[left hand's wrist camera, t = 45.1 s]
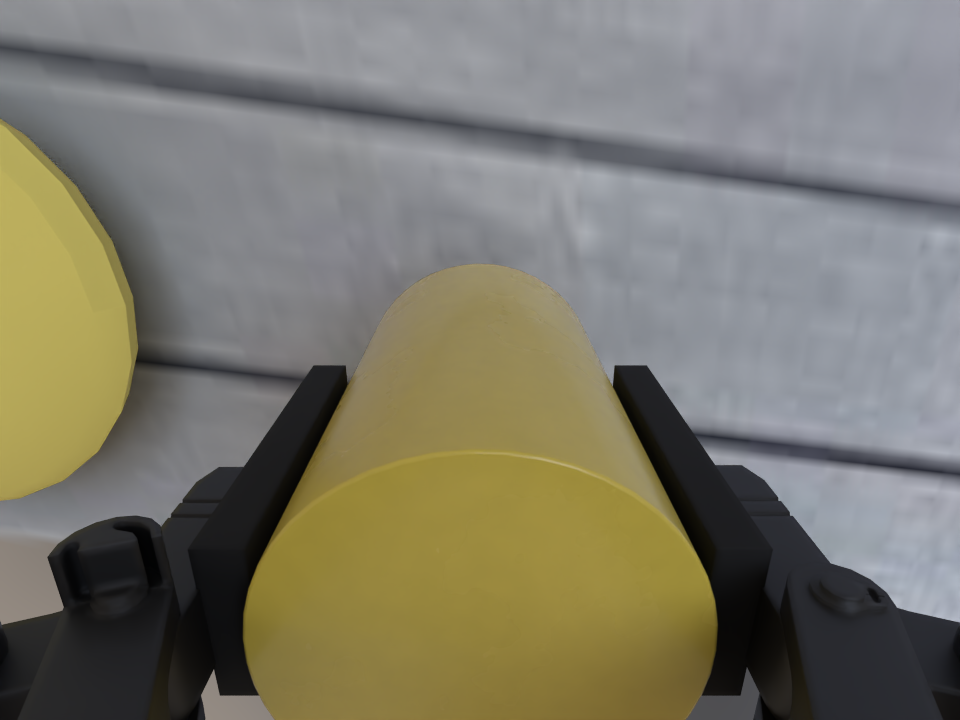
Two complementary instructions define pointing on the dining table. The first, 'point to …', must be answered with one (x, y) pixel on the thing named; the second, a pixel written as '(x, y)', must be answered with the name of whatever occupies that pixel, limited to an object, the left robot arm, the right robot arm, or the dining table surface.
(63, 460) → the vase
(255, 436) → the dining table surface
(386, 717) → the tin
